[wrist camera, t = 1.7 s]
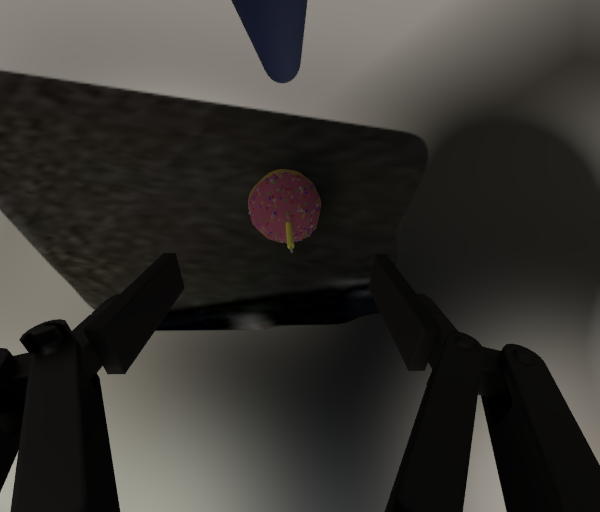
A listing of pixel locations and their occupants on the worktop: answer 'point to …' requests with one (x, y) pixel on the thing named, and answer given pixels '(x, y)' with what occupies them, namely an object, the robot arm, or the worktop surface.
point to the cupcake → (285, 206)
